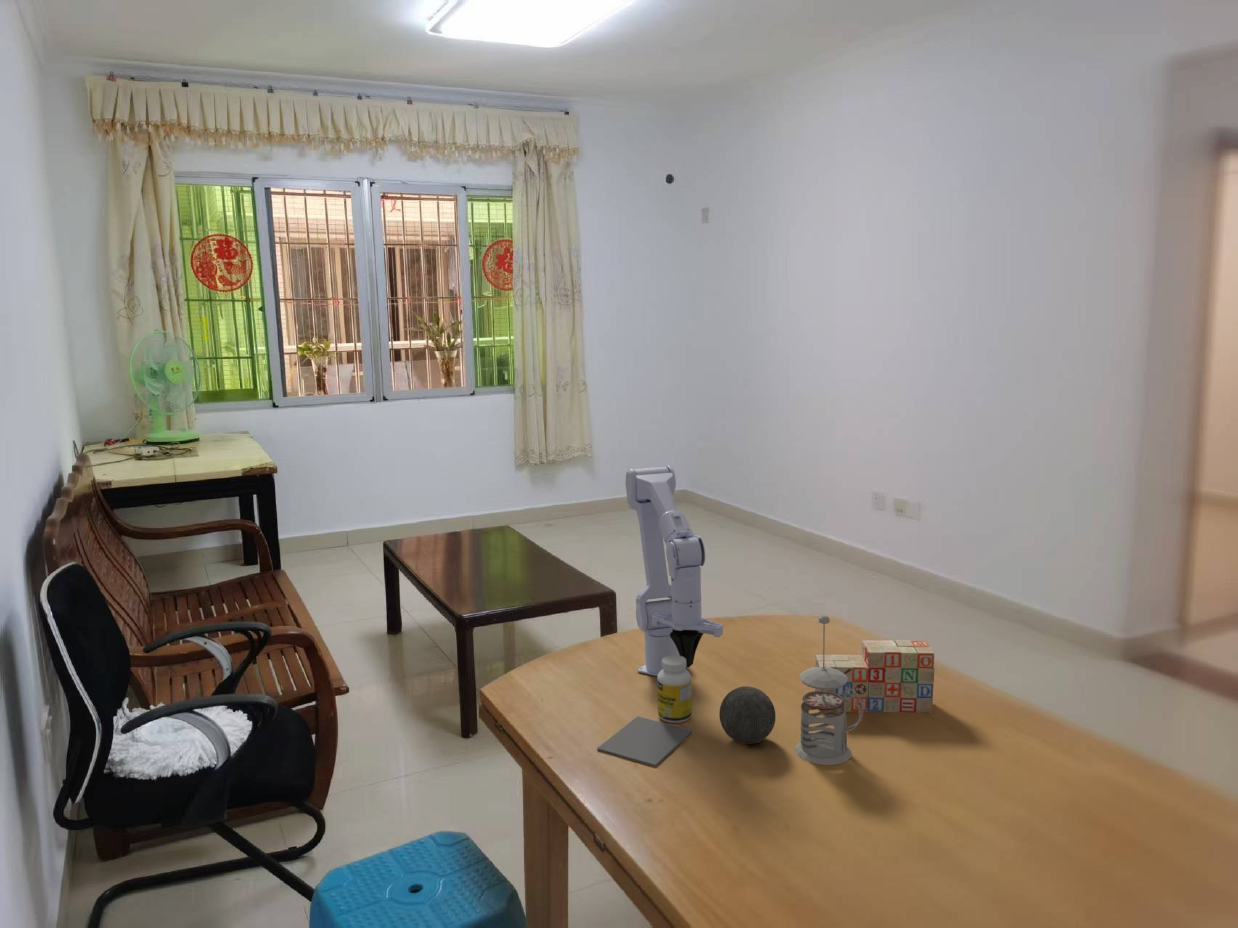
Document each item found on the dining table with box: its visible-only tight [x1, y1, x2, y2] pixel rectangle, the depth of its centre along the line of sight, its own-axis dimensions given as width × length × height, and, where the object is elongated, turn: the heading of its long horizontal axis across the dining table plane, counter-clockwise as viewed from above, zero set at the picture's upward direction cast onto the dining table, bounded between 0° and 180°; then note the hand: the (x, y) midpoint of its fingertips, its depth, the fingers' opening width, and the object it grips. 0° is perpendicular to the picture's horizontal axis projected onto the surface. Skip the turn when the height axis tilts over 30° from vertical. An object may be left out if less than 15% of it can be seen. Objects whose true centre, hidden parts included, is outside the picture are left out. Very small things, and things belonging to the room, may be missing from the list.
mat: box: [596, 715, 694, 768], centre depth 162 cm, size 14×12×1 cm
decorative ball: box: [718, 685, 777, 745], centre depth 160 cm, size 10×10×10 cm
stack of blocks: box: [814, 639, 935, 714], centre depth 172 cm, size 21×6×12 cm, turn 85°
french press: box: [794, 614, 864, 766], centre depth 154 cm, size 10×12×25 cm
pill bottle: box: [656, 655, 693, 724], centre depth 170 cm, size 6×6×12 cm
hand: (687, 664), depth 174 cm, fingers closed
